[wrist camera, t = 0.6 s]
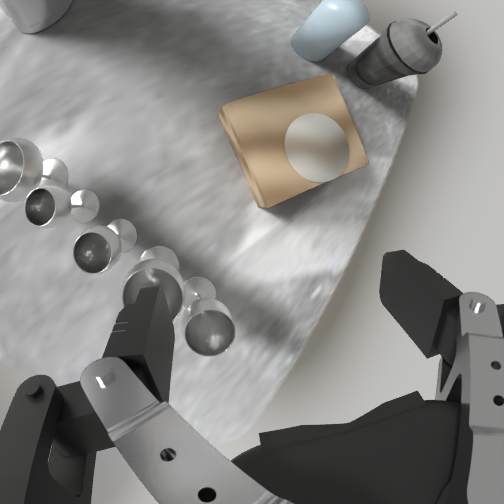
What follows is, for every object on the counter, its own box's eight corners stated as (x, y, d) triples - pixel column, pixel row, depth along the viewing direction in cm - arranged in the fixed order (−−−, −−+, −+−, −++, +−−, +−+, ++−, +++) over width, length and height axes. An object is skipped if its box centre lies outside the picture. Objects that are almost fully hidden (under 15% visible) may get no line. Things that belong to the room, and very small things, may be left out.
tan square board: (218, 115, 34) (224, 103, 30) (316, 84, 36) (332, 73, 32) (258, 207, 37) (269, 207, 32) (351, 166, 39) (370, 163, 35)
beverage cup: (347, 98, 37) (454, 48, 18) (332, 52, 36) (424, -15, 17) (385, 97, 39) (490, 59, 20) (371, 54, 37) (465, 2, 18)
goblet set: (228, 286, 37) (257, 328, 25) (199, 323, 37) (214, 379, 24) (50, 144, 29) (-3, 118, 17) (24, 184, 29) (-37, 177, 16)
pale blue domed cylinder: (285, 33, 34) (319, -10, 23) (317, 28, 35) (355, -10, 24) (301, 64, 35) (342, 28, 25) (333, 58, 36) (377, 25, 26)
